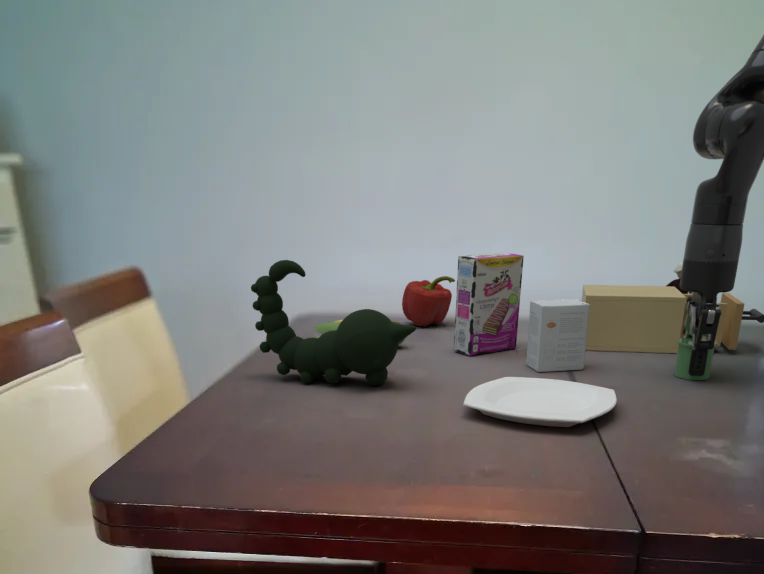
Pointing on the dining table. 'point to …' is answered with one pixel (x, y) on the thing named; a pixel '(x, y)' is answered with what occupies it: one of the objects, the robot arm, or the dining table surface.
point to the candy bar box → (487, 302)
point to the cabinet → (634, 318)
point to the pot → (684, 360)
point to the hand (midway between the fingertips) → (692, 370)
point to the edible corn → (335, 327)
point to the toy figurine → (326, 337)
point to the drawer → (729, 320)
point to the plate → (541, 401)
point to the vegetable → (426, 301)
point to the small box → (557, 335)
